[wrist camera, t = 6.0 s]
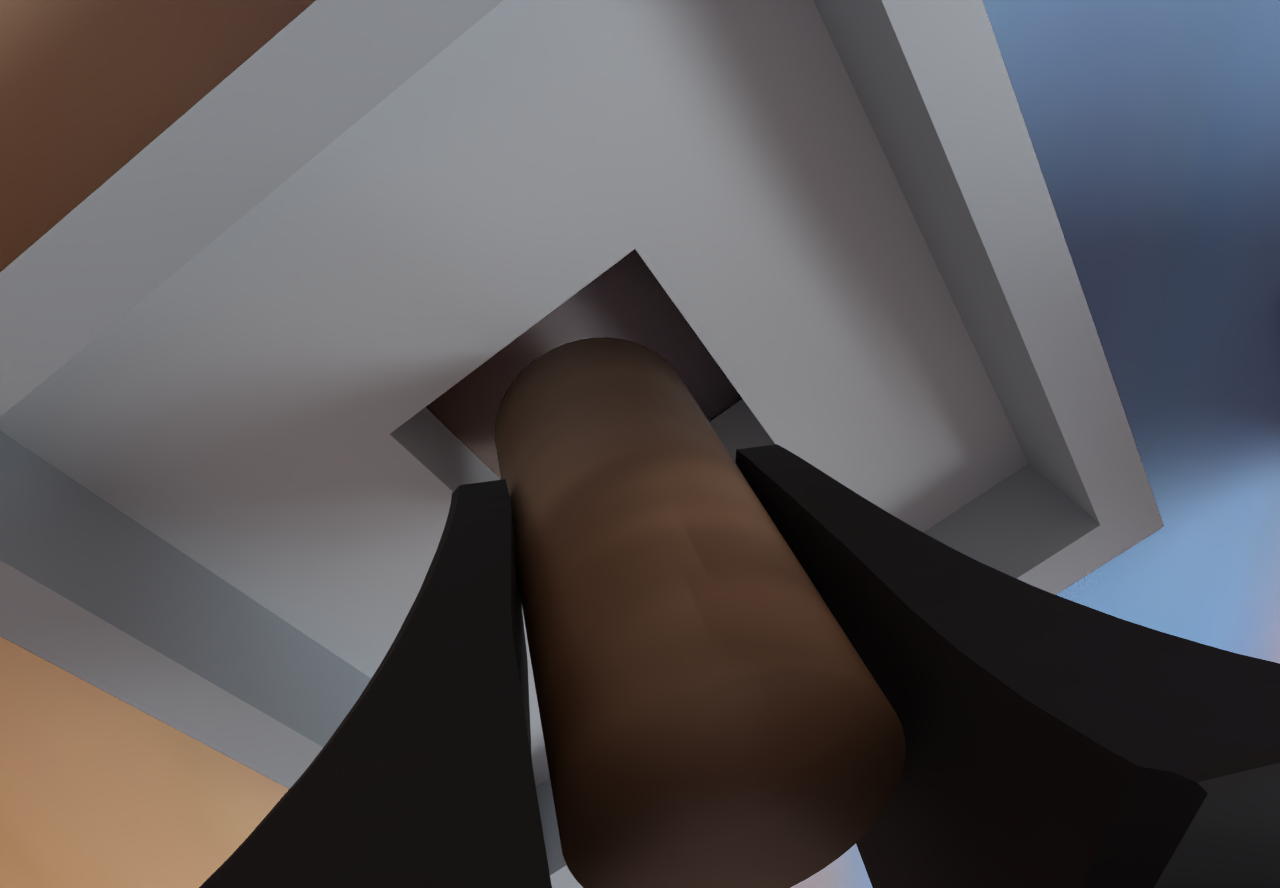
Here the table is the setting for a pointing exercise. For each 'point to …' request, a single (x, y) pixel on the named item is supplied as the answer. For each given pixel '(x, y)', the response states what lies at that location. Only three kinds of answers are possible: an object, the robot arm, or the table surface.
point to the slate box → (524, 323)
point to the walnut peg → (678, 642)
